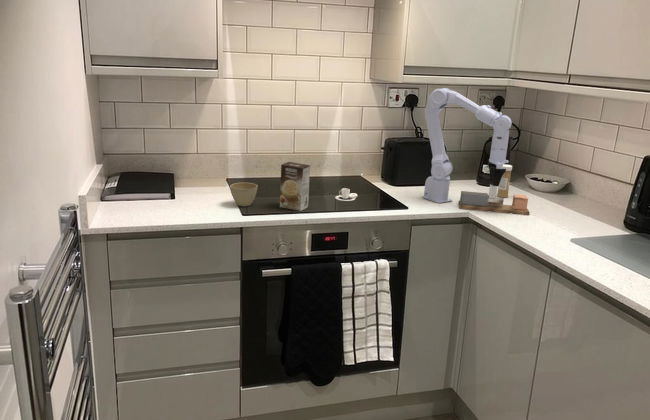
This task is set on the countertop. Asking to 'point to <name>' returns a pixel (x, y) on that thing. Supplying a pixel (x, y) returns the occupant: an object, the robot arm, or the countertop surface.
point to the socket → (519, 202)
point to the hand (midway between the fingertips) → (494, 183)
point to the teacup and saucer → (346, 195)
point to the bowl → (243, 193)
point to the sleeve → (474, 199)
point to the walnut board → (495, 209)
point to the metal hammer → (494, 196)
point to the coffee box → (294, 186)
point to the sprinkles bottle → (505, 182)
